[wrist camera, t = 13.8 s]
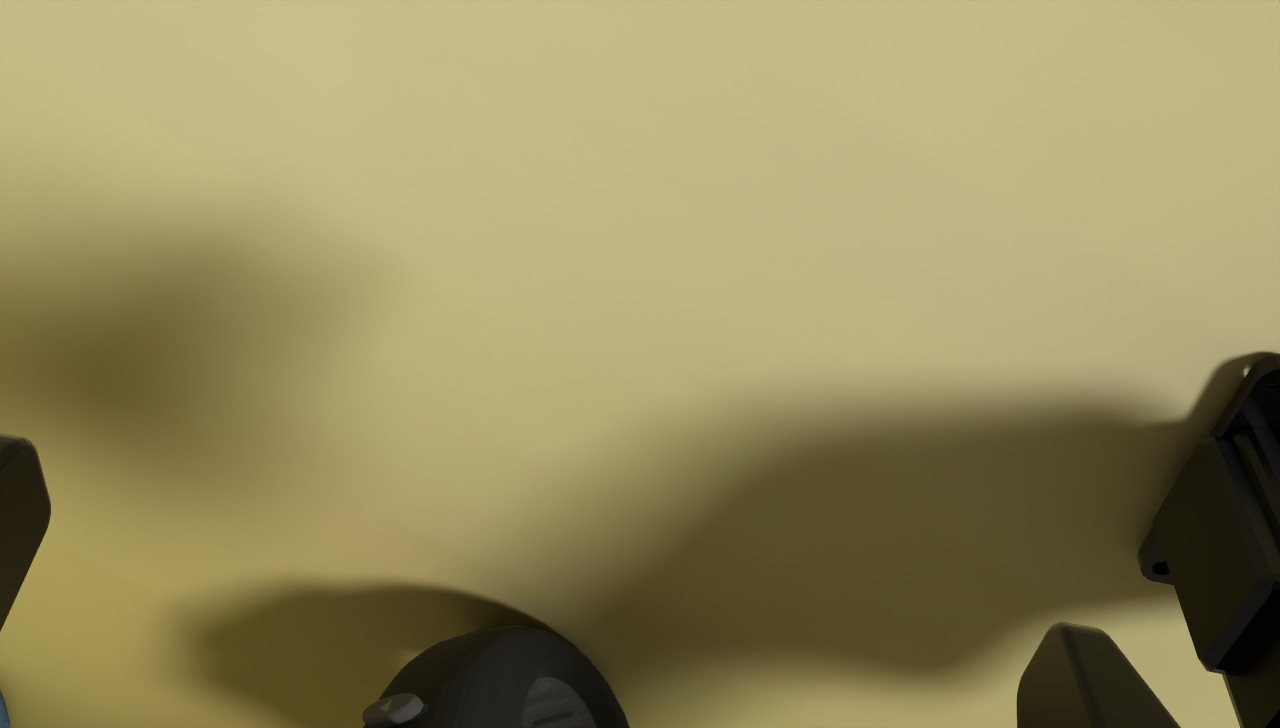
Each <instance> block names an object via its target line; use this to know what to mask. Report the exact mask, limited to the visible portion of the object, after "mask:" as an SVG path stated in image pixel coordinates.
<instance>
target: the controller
mask: <svg viewBox="0 0 1280 728" xmlns="http://www.w3.org/2000/svg"><path fill="white" fill-rule="evenodd" d="M363 721H364V722H365V723H366V724H365V725H364V727H363V728H630V727H629V724H628V722H627V719H626V717H625V714H624V712H623V710H622V708H621V706H620V705H619V703H618V701H617V699H616V697H615V695H614V694H613V692H612V690H611V688H610V686H609V684H608V683H607V681H606V680H605V679H604V678H603V676H602V675H601V674H600V673H599V671H598V670H597V669H596V668H595V666H594V665H593V664H592V663H591V662H590V660H589V659H588V658H587V657H586V656H585V655H583V654H582V653H581V652H580V651H579V650H577V649H576V648H575V647H574V646H573V645H571V644H570V643H568V642H567V641H565V640H564V639H562V638H561V637H559V636H557V635H555V634H552V633H550V632H548V631H544V630H541V629H537V628H534V627H530V626H526V625H499V626H494V627H489V628H484V629H481V630H477V631H474V632H471V633H468V634H465V635H462V636H459V637H456V638H452V639H449V640H446V641H443V642H440V643H437V644H436V645H434V646H432V647H430V648H429V649H427V650H425V651H424V652H422V653H421V654H420V655H418V656H417V657H415V658H414V659H413V660H411V661H410V662H409V663H408V664H407V665H406V666H405V667H404V668H403V669H402V670H401V671H400V672H399V673H398V674H397V675H396V677H395V678H394V679H393V681H392V682H391V683H390V684H389V686H388V687H387V688H386V690H385V691H384V692H383V694H382V696H381V697H380V699H379V701H377V702H375V703H373V704H372V705H370V706H369V707H368V708H367V709H366V710H365V711H364V713H363Z"/></svg>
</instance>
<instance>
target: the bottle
mask: <svg viewBox="0 0 1280 728" xmlns="http://www.w3.org/2000/svg"><path fill="white" fill-rule="evenodd" d="M9 727H10V720H9V716H8V712H7V708H6V704H5V701H4V699H3V697H2V694H1V692H0V728H9Z"/></svg>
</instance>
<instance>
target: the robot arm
mask: <svg viewBox="0 0 1280 728" xmlns="http://www.w3.org/2000/svg"><path fill="white" fill-rule="evenodd" d="M1277 378H1280V356H1273V357H1269V358H1265V359H1263V360H1261V361H1260V362H1258V363H1256V364H1255V365H1254V366H1253V367H1252V368H1251V369H1250V371H1249V372H1248V374H1247V375H1246V377H1245V379H1244V380H1243V382H1242V383H1241V385H1240V387H1239V388H1238V390H1237V392H1236V393H1235V395H1234V397H1233V398H1232V400H1231V401H1230V403H1229V405H1228V406H1227V408H1226V410H1225V411H1224V413H1223V414H1222V416H1221V418H1220V419H1219V421H1218V423H1217V424H1216V426H1215V428H1214V429H1213V431H1212V432H1211V434H1210V436H1209V437H1208V438H1207V439H1205V440H1204V441H1203V442H1202V443H1200V444H1199V445H1198V447H1197V449H1196V450H1195V452H1194V454H1193V455H1192V457H1191V458H1190V460H1189V462H1188V463H1187V465H1186V467H1185V468H1184V470H1183V472H1182V473H1181V475H1180V477H1179V478H1178V480H1177V481H1176V483H1175V485H1174V486H1173V488H1172V490H1171V491H1170V493H1169V495H1168V496H1167V498H1166V499H1165V501H1164V503H1163V504H1162V506H1161V508H1160V509H1159V511H1158V513H1157V514H1156V516H1155V518H1154V521H1153V522H1154V527H1153V529H1152V530H1151V532H1150V533H1149V535H1148V537H1147V538H1146V540H1145V542H1144V543H1143V545H1142V546H1141V548H1140V550H1139V552H1138V555H1137V558H1138V561H1139V565H1140V568H1141V571H1142V574H1143V576H1145V577H1146V578H1147V579H1149V580H1152V581H1155V582H1160V583H1165V584H1171V585H1174V587H1175V590H1176V593H1177V596H1178V599H1179V602H1180V605H1181V608H1182V611H1183V614H1184V617H1185V620H1186V623H1187V626H1188V629H1189V632H1190V635H1191V638H1192V641H1193V644H1194V647H1195V650H1196V653H1197V656H1198V659H1199V660H1200V662H1201V663H1202V665H1203V666H1204V668H1205V669H1206V671H1209V672H1214V673H1220V674H1222V676H1223V678H1224V681H1225V684H1226V687H1227V690H1228V693H1229V696H1230V699H1231V702H1232V704H1233V707H1234V710H1235V713H1236V716H1237V719H1238V722H1239V725H1240V728H1280V383H1277V384H1275V385H1268V384H1269V383H1270V382H1271V381H1272V380H1275V379H1277ZM50 515H51V503H50V498H49V494H48V490H47V487H46V483H45V479H44V475H43V472H42V468H41V464H40V460H39V457H38V453H37V450H36V447H35V446H34V445H33V444H32V442H31V441H30V440H28V439H26V438H23V437H18V436H12V435H6V434H1V433H0V631H1V629H2V627H3V625H4V622H5V620H6V618H7V616H8V614H9V611H10V609H11V607H12V605H13V603H14V601H15V598H16V596H17V594H18V592H19V590H20V587H21V585H22V583H23V581H24V579H25V577H26V574H27V572H28V570H29V568H30V566H31V563H32V561H33V559H34V557H35V555H36V553H37V550H38V548H39V546H40V544H41V542H42V539H43V537H44V535H45V533H46V530H47V528H48V524H49V521H50ZM1162 560H1166V561H1163V562H1159V561H1162ZM1017 728H1181V727H1180V726H1179V725H1178V724H1177V722H1176V721H1175V720H1174V718H1173V717H1172V716H1171V715H1170V713H1169V712H1168V711H1167V709H1166V708H1165V707H1164V706H1163V704H1162V703H1161V702H1160V700H1159V699H1158V698H1157V697H1156V695H1155V694H1154V693H1153V691H1152V690H1151V689H1150V688H1149V686H1148V685H1147V684H1146V683H1145V681H1144V680H1143V679H1142V677H1141V676H1140V675H1139V674H1138V672H1137V671H1136V670H1135V668H1134V667H1133V666H1132V665H1131V663H1130V662H1129V661H1128V659H1127V658H1126V657H1125V656H1124V654H1123V653H1122V652H1121V650H1120V649H1119V648H1118V647H1117V645H1116V644H1115V643H1114V641H1113V640H1112V639H1111V638H1110V637H1109V636H1108V635H1107V634H1106V633H1105V632H1104V631H1102V630H1100V629H1097V628H1094V627H1088V626H1082V625H1077V624H1071V623H1066V622H1058V623H1056V624H1054V625H1053V626H1051V627H1050V629H1049V630H1048V631H1047V633H1046V635H1045V636H1044V638H1043V640H1042V642H1041V643H1040V645H1039V647H1038V649H1037V650H1036V652H1035V654H1034V655H1033V657H1032V659H1031V661H1030V662H1029V664H1028V666H1027V668H1026V669H1025V671H1024V673H1023V675H1022V677H1021V680H1020V683H1019V687H1018V692H1017Z"/></svg>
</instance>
